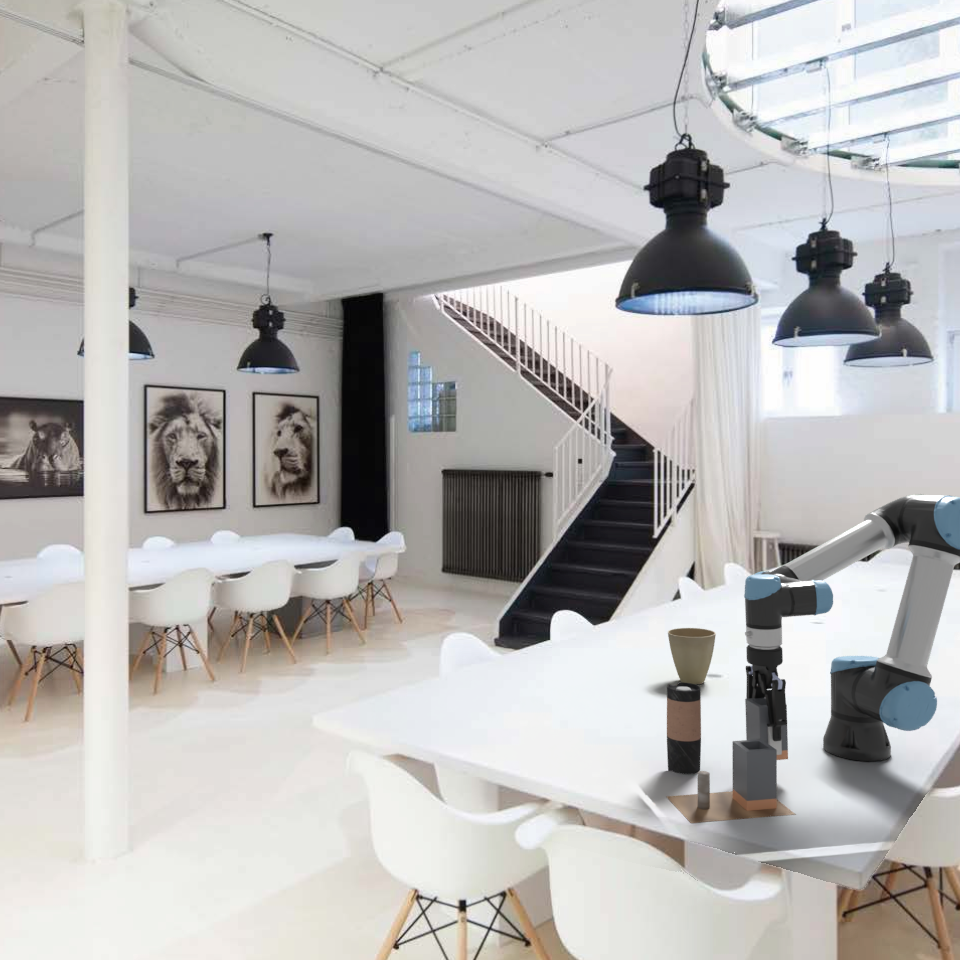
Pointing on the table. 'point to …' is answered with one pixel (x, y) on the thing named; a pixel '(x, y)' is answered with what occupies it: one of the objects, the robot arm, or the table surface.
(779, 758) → the banded sleeve
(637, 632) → the table surface
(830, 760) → the table surface
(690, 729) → the travel mug
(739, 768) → the seated sleeve
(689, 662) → the plant pot
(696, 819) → the pinboard
